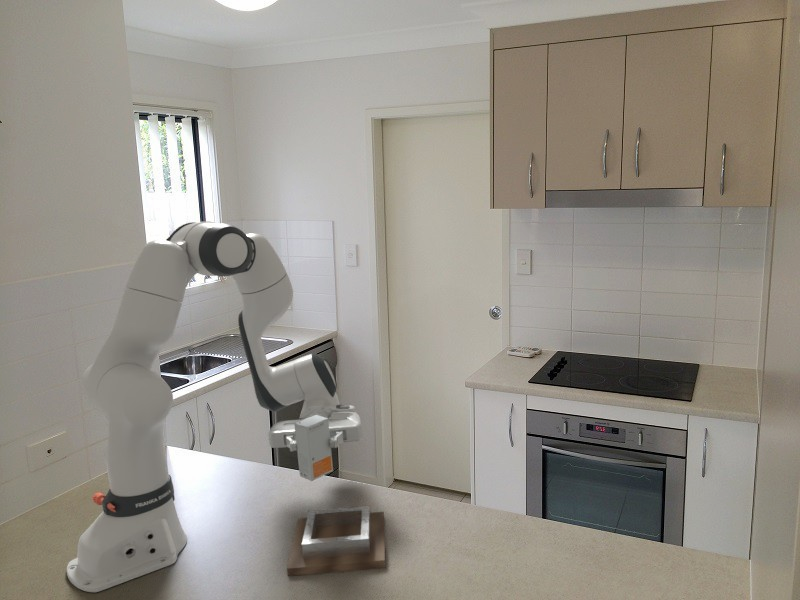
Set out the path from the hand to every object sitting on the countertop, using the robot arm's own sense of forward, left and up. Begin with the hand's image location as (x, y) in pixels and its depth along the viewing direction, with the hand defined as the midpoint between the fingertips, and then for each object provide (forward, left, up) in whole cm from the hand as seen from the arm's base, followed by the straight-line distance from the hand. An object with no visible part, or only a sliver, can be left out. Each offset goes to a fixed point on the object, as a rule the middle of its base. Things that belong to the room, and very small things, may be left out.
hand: (313, 446), depth 140 cm
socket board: (-4, -11, -17) cm, 20 cm away
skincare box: (+1, +1, -7) cm, 7 cm away
